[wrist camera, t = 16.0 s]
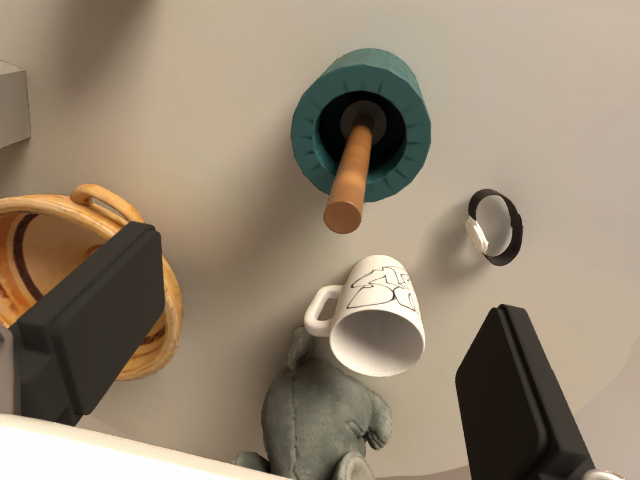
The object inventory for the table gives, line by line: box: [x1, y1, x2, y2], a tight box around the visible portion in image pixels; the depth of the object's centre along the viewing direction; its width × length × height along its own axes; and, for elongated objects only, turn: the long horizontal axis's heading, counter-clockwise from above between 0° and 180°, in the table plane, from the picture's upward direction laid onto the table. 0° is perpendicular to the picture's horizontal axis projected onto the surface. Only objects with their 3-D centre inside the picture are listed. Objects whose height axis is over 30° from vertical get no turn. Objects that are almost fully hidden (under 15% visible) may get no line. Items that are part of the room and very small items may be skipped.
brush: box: [324, 91, 388, 234], centre depth 25 cm, size 4×4×20 cm
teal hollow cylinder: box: [291, 48, 431, 202], centre depth 30 cm, size 9×9×10 cm
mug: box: [304, 255, 425, 377], centre depth 39 cm, size 11×8×10 cm
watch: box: [465, 189, 523, 266], centre depth 36 cm, size 8×5×4 cm, turn 25°
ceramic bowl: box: [0, 184, 183, 381], centre depth 44 cm, size 30×24×8 cm
